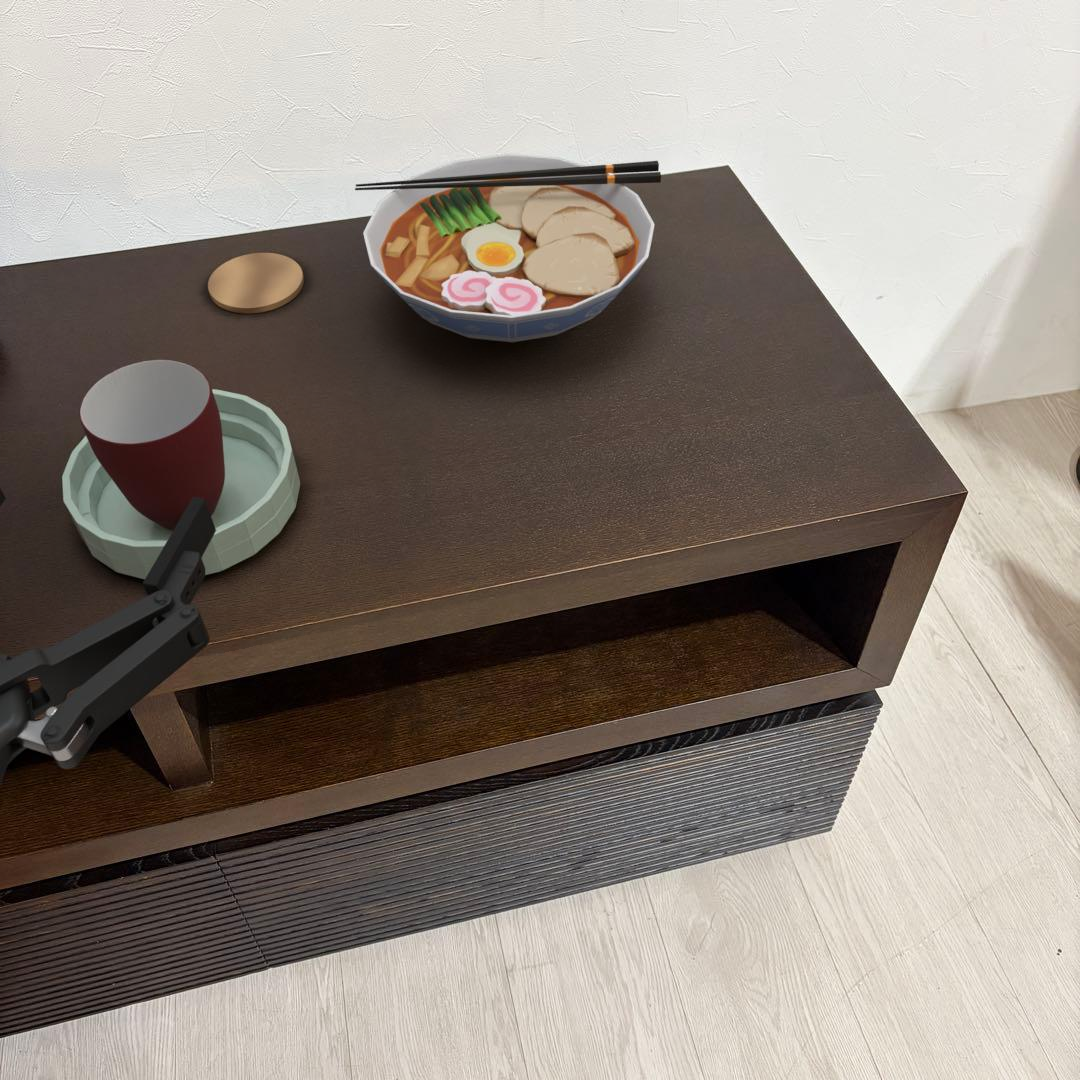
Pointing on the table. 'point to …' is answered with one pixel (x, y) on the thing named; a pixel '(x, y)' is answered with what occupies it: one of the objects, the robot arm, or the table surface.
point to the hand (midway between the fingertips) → (97, 497)
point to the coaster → (255, 283)
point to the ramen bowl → (511, 242)
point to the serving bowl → (239, 518)
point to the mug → (157, 437)
